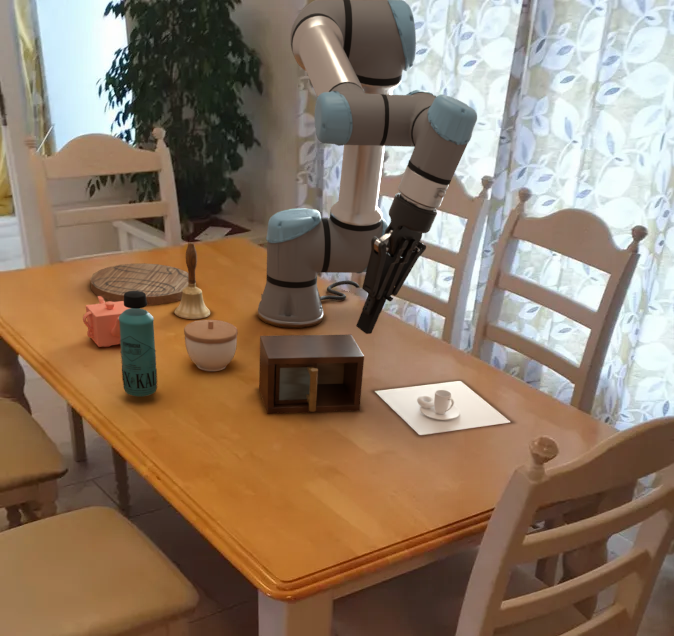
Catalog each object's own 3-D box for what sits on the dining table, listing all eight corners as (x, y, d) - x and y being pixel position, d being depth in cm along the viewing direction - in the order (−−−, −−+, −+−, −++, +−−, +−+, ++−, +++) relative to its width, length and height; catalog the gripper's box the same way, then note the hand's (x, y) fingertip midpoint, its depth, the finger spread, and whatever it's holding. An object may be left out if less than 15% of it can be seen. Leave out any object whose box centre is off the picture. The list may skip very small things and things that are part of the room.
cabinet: (347, 387, 183) (351, 334, 177) (359, 410, 175) (364, 356, 168) (259, 389, 180) (259, 335, 173) (267, 413, 171) (268, 358, 165)
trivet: (111, 266, 233) (110, 259, 232) (205, 277, 232) (205, 269, 230) (75, 298, 213) (74, 290, 212) (178, 309, 212) (178, 301, 210)
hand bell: (216, 310, 213) (215, 240, 203) (200, 322, 206) (198, 250, 197) (184, 304, 215) (181, 234, 205) (168, 315, 208) (164, 244, 199)
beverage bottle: (125, 389, 176) (117, 286, 164) (160, 390, 176) (154, 287, 164) (121, 404, 170) (113, 298, 158) (157, 405, 171) (151, 299, 159)
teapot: (128, 325, 202) (125, 288, 197) (151, 350, 192) (149, 311, 187) (75, 332, 197) (71, 293, 192) (96, 357, 187) (92, 318, 182)
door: (314, 401, 173) (316, 359, 168) (319, 413, 169) (322, 370, 164) (274, 402, 172) (275, 360, 167) (278, 415, 168) (280, 371, 163)
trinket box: (228, 379, 183) (228, 333, 177) (178, 371, 184) (176, 326, 178) (243, 359, 191) (243, 315, 185) (195, 352, 192) (193, 308, 187)
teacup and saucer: (410, 404, 178) (413, 385, 176) (445, 400, 181) (448, 381, 179) (431, 424, 172) (434, 404, 170) (467, 419, 175) (470, 399, 172)
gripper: (410, 209, 143) (354, 342, 157) (456, 213, 152) (399, 339, 166) (377, 187, 146) (325, 320, 160) (424, 192, 155) (371, 317, 169)
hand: (363, 329), depth 163 cm, fingers closed
